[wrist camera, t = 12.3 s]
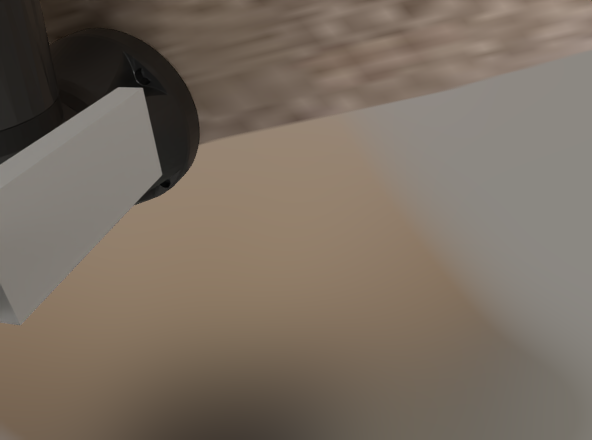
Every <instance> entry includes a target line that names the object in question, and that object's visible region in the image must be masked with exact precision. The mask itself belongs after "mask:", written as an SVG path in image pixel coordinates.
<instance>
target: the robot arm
mask: <svg viewBox="0 0 592 440" xmlns="http://www.w3.org/2000/svg"><path fill="white" fill-rule="evenodd" d="M198 144H199V124H198V118H197V113H196V109H195V106H194V103H193V101H192V98H191V96H190V94H189V92H188V90H187V88H186V86H185V84H184V83H183V81H182V79H181V78H180V77H179V75H178V74H177V72H176V71H175V70H174V69H173V67H172V66H171V65H170V64H169V63H168V62H167V61H166V60H165V59H164V58H163V57H162V56H161V55H160V54H159V53H158V52H156V51H155V50H154V49H152V48H151V47H150V46H148V45H147V44H145V43H144V42H142V41H140V40H139V39H137V38H135V37H133V36H130V35H128V34H125V33H122V32H119V31H115V30H110V29H102V28H93V29H86V30H82V31H78V32H76V33H73V34H71V35H69V36H66V37H64V38H61V39H59V40H57V41H55V42H54V43H52V44H51V45H50V46H49V42H48V37H47V33H46V28H45V24H44V19H43V15H42V10H41V6H40V1H39V0H0V322H1V323H8V324H16V325H21V324H22V323H23V322H24V321H25V320H26V319H27V318H28V317H29V315H30V314H31V313H32V312H33V311H34V310H35V309H36V308H37V307H38V306H39V305H40V304H41V303H42V302H43V301H44V300H45V299H46V297H47V296H48V295H49V294H50V293H51V292H52V291H53V290H54V289H55V288H56V287H57V286H58V285H59V284H60V283H61V282H62V281H63V280H64V278H65V277H66V276H67V275H68V274H69V273H70V272H71V271H72V270H73V269H74V268H75V267H76V266H77V265H78V264H79V263H80V261H81V260H82V259H83V258H84V257H85V256H86V255H87V254H88V253H89V252H90V251H91V250H92V249H93V248H94V247H95V245H96V244H97V243H98V242H99V241H100V240H101V239H102V238H103V237H104V236H105V235H106V234H107V233H108V232H109V231H110V230H111V228H113V226H114V225H115V224H116V223H117V222H118V221H119V220H120V219H121V218H122V217H123V216H124V215H125V214H126V213H127V212H128V211H129V210H130V208H131V207H132V206H134V205H136V204H139V203H142V202H144V201H147V200H150V199H153V198H155V197H158V196H160V195H162V194H163V193H165V192H166V191H168V190H169V189H171V188H172V187H173V186H174V185H175V184H176V183H177V182H178V181H179V180H180V179H181V178H182V177H183V176H184V175H185V174H186V172H187V171H188V170H189V168H190V166H191V165H192V163H193V161H194V159H195V156H196V153H197V149H198Z"/></svg>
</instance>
